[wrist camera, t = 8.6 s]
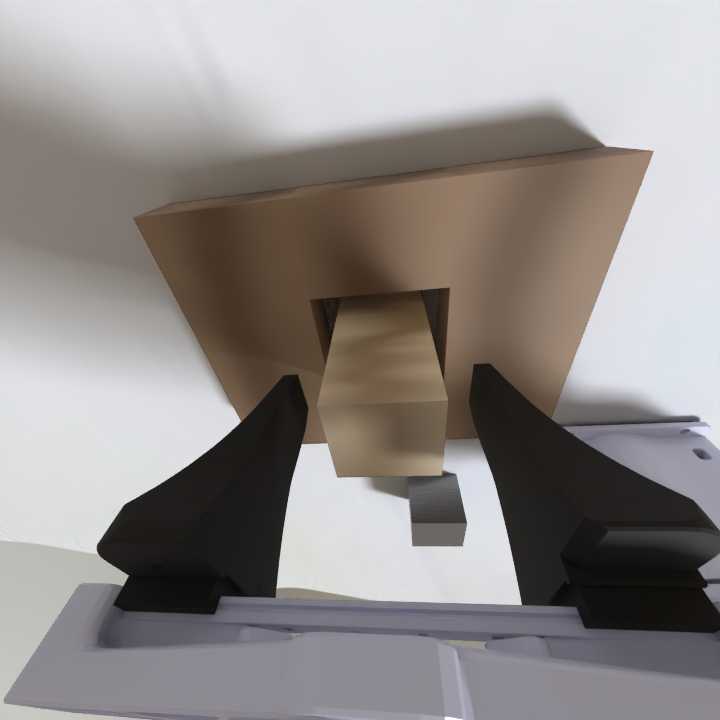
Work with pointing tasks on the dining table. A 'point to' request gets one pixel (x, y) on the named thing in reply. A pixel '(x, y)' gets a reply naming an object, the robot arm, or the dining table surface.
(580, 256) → the hole board
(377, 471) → the long beech pin
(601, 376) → the dining table surface
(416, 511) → the brushed steel cube
